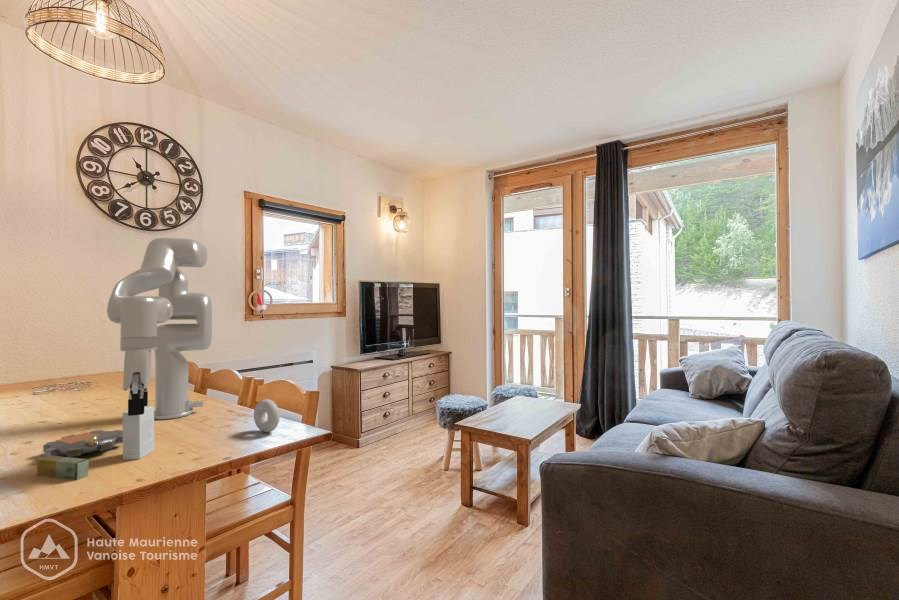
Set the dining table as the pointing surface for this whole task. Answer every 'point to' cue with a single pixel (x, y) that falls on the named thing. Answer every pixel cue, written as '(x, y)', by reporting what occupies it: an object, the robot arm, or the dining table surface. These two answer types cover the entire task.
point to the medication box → (62, 467)
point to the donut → (272, 414)
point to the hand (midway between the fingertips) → (138, 410)
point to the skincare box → (138, 434)
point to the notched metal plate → (83, 443)
